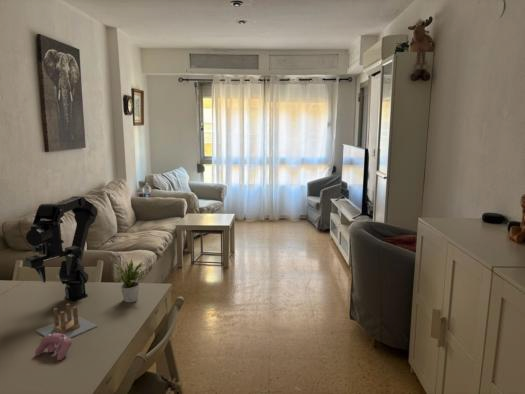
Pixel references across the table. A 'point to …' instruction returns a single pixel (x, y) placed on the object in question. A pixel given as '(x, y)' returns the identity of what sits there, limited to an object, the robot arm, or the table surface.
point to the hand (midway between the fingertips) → (56, 278)
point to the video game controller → (51, 342)
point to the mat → (83, 328)
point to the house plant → (130, 282)
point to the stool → (66, 325)
